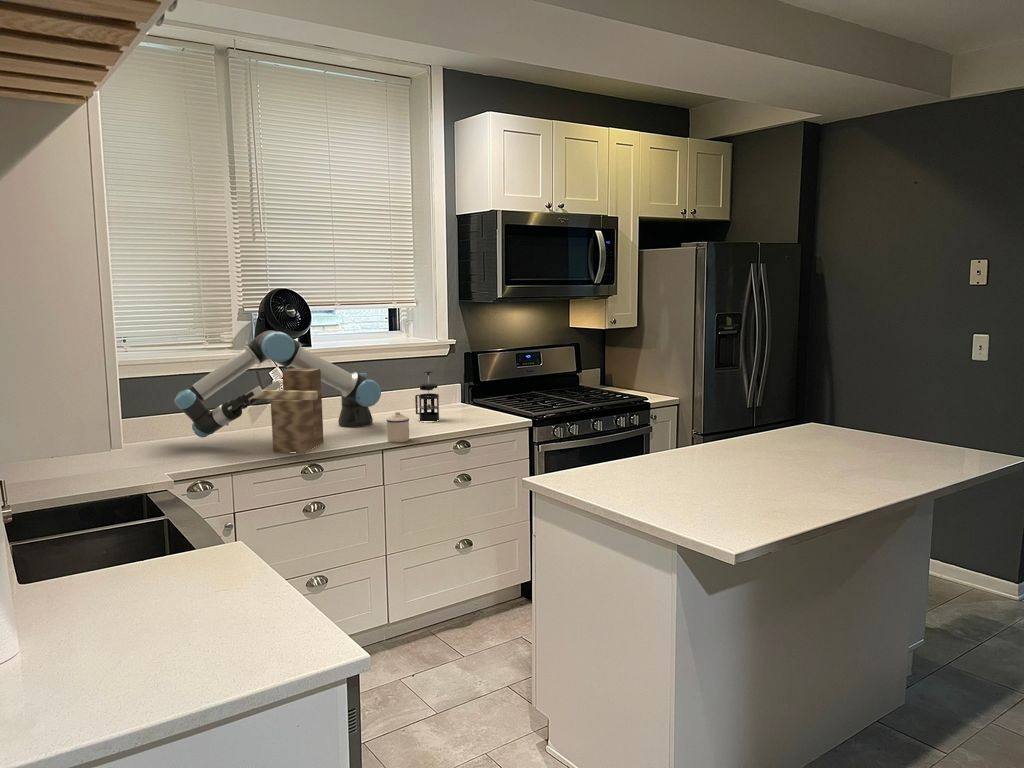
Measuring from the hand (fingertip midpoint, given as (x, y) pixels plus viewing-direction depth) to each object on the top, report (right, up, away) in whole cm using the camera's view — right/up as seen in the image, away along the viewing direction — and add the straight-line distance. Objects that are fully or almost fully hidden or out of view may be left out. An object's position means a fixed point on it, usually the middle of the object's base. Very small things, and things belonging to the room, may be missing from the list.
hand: (270, 386), depth 286 cm
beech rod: (+6, -5, 0) cm, 7 cm away
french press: (+54, -16, +59) cm, 81 cm away
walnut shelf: (+9, -24, +6) cm, 26 cm away
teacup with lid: (+45, -22, +19) cm, 54 cm away
